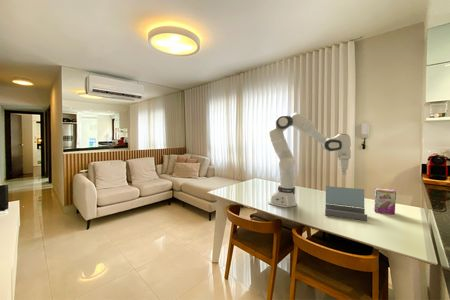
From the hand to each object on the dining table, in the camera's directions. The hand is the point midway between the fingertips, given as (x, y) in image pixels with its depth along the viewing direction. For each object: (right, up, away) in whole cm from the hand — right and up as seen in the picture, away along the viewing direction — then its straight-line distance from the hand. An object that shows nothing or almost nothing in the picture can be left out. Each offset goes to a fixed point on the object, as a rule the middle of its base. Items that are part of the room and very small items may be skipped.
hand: (343, 173), depth 152 cm
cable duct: (-7, -28, -13) cm, 31 cm away
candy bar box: (+23, -27, -10) cm, 36 cm away
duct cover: (-4, -16, -7) cm, 18 cm away
